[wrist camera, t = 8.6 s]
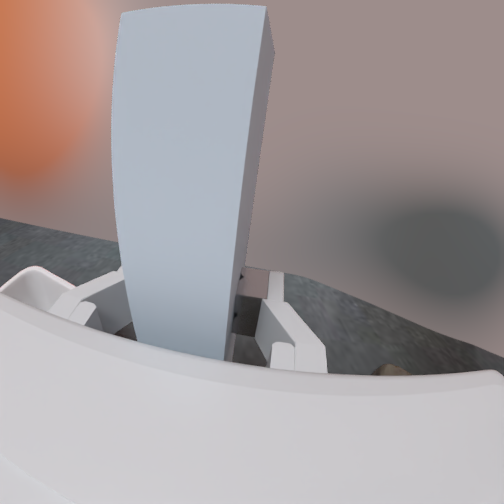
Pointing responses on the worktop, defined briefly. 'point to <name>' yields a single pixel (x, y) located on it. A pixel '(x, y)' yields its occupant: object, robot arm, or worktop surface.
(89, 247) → the worktop surface
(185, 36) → the tall board
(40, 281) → the mug
